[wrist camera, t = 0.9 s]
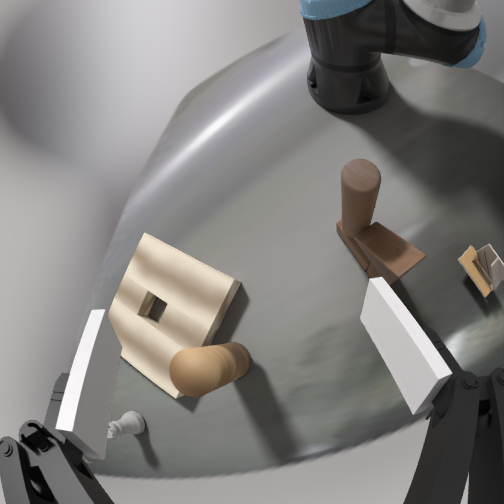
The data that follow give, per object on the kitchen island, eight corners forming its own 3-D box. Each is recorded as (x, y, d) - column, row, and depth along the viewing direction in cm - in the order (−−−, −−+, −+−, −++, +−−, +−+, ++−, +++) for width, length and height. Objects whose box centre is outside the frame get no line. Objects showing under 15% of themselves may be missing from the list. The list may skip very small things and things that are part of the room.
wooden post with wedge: (379, 293, 37) (408, 271, 21) (335, 231, 41) (330, 170, 24) (400, 278, 37) (440, 245, 20) (356, 217, 41) (362, 149, 24)
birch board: (154, 237, 50) (144, 232, 47) (241, 282, 43) (234, 279, 41) (110, 336, 48) (99, 336, 45) (185, 395, 42) (175, 398, 39)
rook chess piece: (129, 405, 44) (99, 413, 37) (148, 418, 42) (119, 429, 35) (125, 424, 43) (95, 434, 36) (143, 437, 42) (114, 449, 34)
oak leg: (232, 334, 42) (180, 337, 28) (263, 351, 40) (223, 365, 26) (217, 364, 42) (161, 379, 28) (247, 382, 40) (201, 408, 26)
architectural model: (475, 300, 33) (498, 295, 26) (449, 265, 36) (468, 253, 29) (488, 285, 33) (512, 277, 26) (463, 250, 35) (483, 236, 28)
